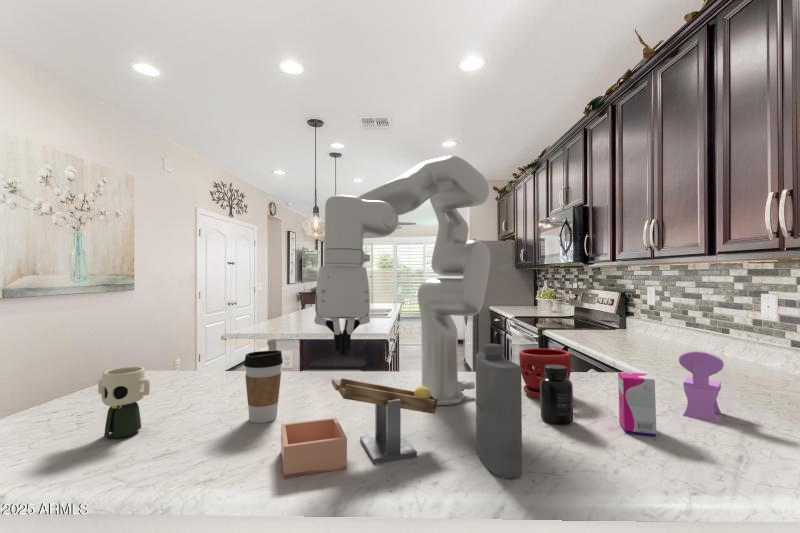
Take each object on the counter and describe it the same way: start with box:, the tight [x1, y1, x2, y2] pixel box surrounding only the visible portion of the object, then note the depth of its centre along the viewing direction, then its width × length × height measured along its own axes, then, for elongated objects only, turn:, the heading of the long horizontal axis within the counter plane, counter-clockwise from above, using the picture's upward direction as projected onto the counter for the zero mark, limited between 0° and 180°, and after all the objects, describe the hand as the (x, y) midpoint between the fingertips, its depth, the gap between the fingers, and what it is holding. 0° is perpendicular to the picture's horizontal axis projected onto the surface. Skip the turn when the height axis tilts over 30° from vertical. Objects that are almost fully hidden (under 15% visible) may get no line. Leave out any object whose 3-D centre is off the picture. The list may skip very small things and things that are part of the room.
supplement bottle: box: [539, 365, 574, 426], centre depth 88 cm, size 7×7×12 cm
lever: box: [331, 377, 438, 415], centre depth 76 cm, size 18×10×3 cm, turn 109°
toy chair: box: [678, 350, 725, 423], centre depth 92 cm, size 8×9×15 cm
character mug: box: [97, 365, 151, 438], centre depth 80 cm, size 11×7×13 cm, turn 86°
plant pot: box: [518, 347, 572, 400], centre depth 106 cm, size 13×13×12 cm
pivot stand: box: [359, 399, 418, 464], centre depth 74 cm, size 8×10×10 cm
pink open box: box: [280, 417, 348, 479], centre depth 69 cm, size 10×10×5 cm
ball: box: [414, 385, 431, 399], centre depth 76 cm, size 3×3×3 cm
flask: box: [475, 343, 523, 480], centre depth 70 cm, size 15×6×20 cm, turn 2°
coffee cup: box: [243, 349, 284, 424], centre depth 89 cm, size 8×8×15 cm
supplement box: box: [617, 371, 657, 438], centre depth 82 cm, size 6×6×12 cm
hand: (341, 354), depth 76 cm, fingers closed
